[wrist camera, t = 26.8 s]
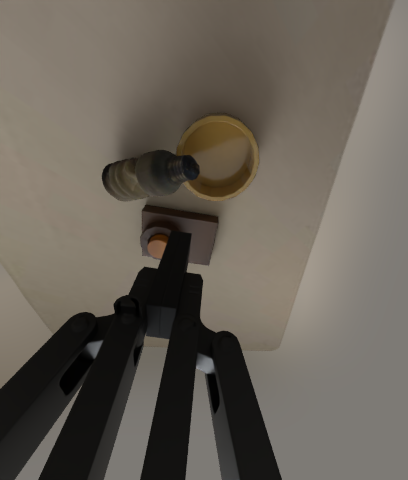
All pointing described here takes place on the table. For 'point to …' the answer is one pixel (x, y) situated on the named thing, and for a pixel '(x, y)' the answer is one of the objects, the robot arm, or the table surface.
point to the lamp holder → (220, 156)
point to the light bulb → (149, 175)
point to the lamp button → (157, 245)
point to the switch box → (180, 230)
